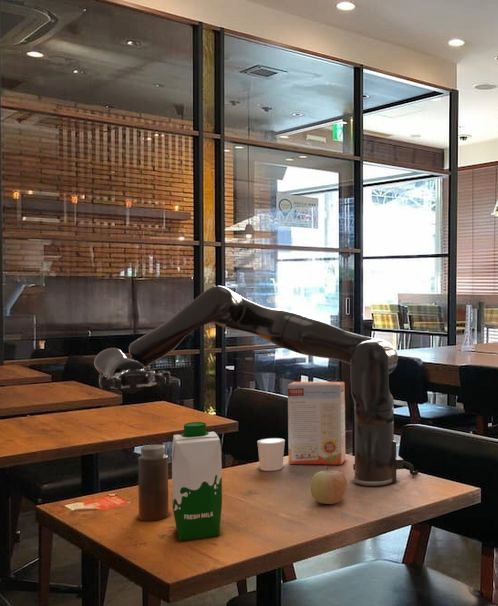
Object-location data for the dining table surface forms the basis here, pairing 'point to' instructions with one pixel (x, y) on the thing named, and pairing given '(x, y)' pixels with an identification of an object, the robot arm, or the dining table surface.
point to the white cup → (271, 453)
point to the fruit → (328, 486)
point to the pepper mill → (153, 483)
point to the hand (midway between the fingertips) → (141, 382)
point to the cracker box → (316, 423)
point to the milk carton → (196, 482)
